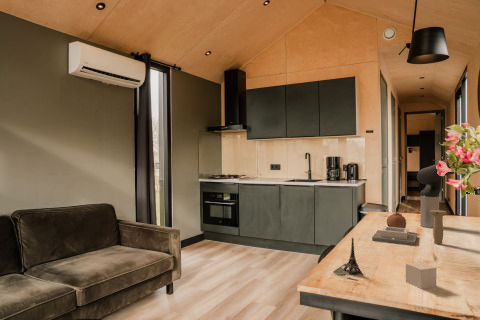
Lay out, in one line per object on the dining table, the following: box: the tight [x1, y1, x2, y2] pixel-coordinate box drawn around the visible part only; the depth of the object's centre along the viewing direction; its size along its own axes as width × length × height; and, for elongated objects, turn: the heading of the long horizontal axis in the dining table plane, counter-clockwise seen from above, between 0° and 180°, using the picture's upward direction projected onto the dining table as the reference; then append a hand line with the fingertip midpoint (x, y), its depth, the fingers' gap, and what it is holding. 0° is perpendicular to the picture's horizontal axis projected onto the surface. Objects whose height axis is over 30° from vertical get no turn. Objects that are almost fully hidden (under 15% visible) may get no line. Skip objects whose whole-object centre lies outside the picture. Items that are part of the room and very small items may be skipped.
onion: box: [386, 212, 407, 229], centre depth 178 cm, size 10×9×10 cm
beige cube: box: [405, 261, 437, 290], centre depth 105 cm, size 6×6×6 cm
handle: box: [430, 209, 448, 245], centre depth 153 cm, size 5×6×15 cm
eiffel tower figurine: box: [332, 237, 364, 281], centre depth 116 cm, size 15×10×13 cm
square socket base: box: [371, 225, 418, 246], centre depth 162 cm, size 18×18×4 cm
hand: (461, 191), depth 148 cm, fingers open, 8 cm apart
